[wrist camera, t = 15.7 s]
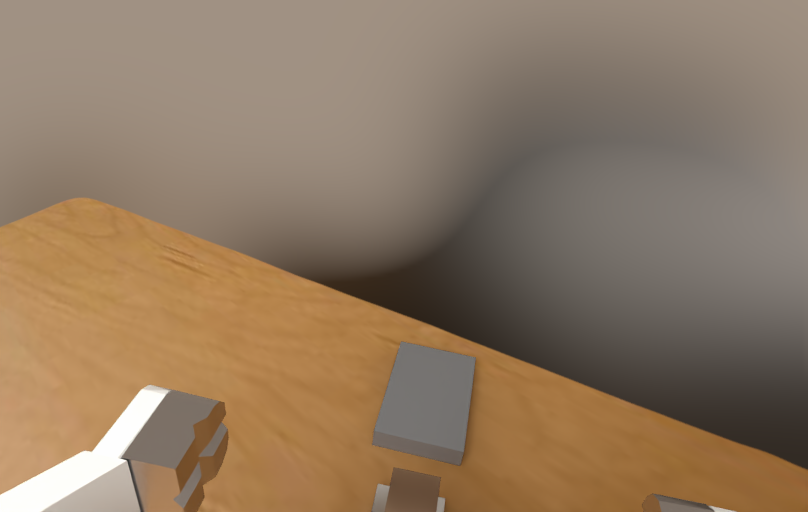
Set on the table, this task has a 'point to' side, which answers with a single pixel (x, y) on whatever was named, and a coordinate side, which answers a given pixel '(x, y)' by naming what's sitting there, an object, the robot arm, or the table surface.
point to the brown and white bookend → (409, 493)
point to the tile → (427, 404)
